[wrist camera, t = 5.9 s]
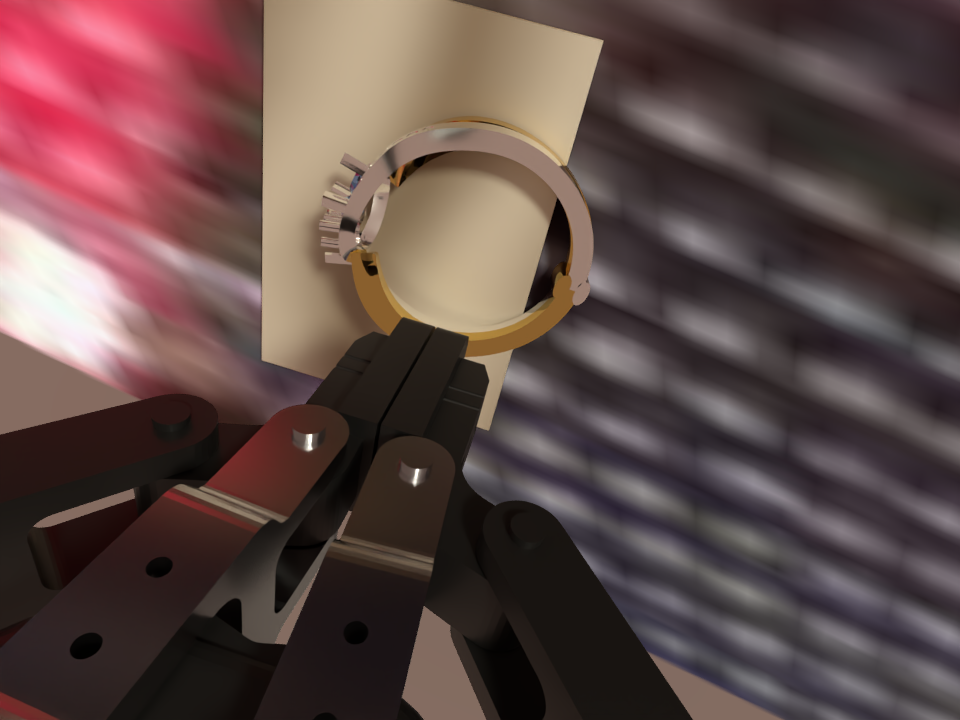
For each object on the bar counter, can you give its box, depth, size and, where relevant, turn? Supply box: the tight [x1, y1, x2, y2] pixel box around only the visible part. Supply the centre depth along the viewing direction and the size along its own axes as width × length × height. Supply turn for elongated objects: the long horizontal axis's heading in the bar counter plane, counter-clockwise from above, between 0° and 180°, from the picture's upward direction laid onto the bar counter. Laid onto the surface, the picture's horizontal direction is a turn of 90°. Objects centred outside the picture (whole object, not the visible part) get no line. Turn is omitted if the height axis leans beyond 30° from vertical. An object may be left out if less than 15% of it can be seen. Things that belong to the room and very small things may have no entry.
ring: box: [319, 116, 593, 357], centre depth 17 cm, size 7×3×8 cm
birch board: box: [262, 0, 604, 430], centre depth 19 cm, size 9×13×1 cm
